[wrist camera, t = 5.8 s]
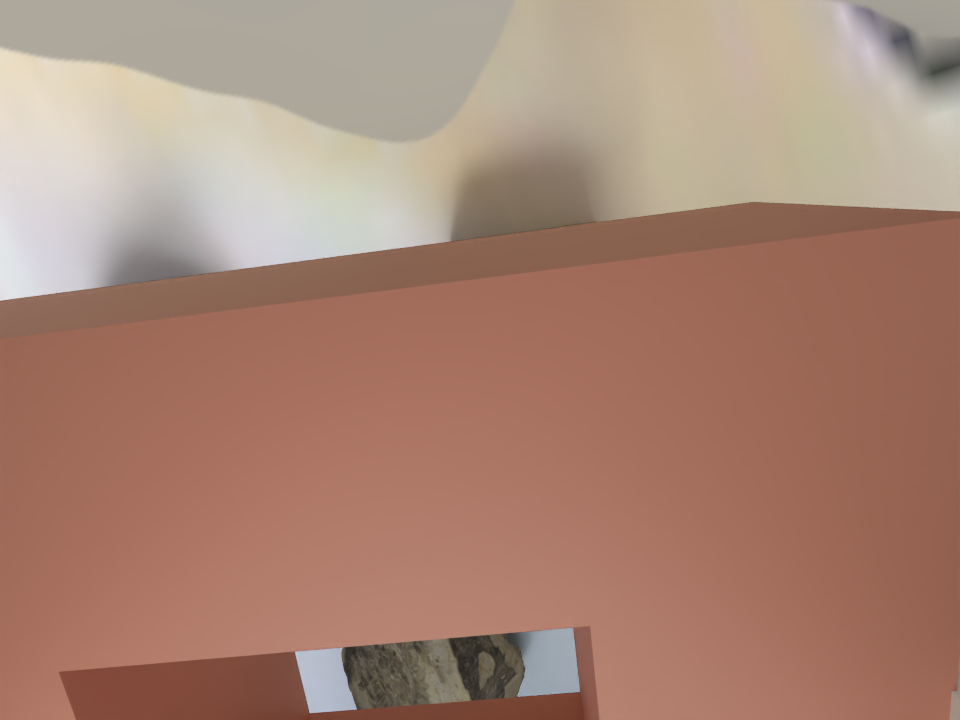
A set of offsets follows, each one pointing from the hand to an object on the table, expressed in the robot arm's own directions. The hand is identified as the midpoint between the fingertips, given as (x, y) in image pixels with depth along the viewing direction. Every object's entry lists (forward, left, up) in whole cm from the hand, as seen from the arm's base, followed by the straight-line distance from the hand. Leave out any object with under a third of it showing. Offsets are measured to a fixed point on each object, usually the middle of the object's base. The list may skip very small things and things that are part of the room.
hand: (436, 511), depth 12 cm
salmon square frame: (0, 0, +2) cm, 2 cm away
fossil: (-17, +6, -20) cm, 27 cm away
